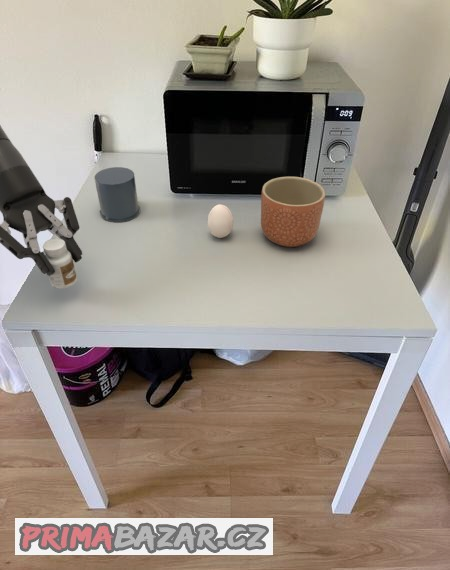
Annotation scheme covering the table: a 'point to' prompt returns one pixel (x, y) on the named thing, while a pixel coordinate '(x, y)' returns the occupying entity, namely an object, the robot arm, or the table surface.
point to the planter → (291, 210)
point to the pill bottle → (60, 263)
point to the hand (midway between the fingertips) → (65, 266)
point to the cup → (117, 194)
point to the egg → (220, 221)
